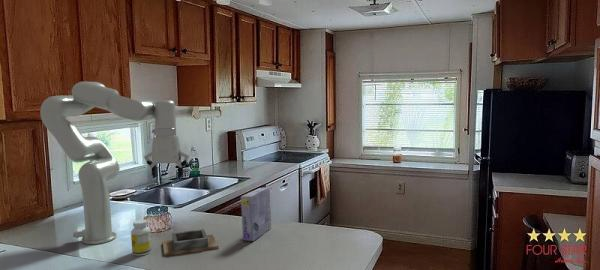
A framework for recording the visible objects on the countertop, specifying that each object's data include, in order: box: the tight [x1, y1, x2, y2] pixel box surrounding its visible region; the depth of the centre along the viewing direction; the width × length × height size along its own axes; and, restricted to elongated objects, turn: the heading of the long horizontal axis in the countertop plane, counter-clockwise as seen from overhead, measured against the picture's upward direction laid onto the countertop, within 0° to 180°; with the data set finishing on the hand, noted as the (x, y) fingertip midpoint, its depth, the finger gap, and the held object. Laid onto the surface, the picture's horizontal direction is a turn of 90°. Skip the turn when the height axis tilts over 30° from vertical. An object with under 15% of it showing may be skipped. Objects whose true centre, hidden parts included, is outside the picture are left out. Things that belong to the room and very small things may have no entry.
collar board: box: [162, 228, 219, 257], centre depth 161 cm, size 19×14×4 cm
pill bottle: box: [130, 219, 152, 257], centre depth 154 cm, size 6×6×12 cm
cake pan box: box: [240, 186, 272, 243], centre depth 172 cm, size 19×5×18 cm, turn 160°
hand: (167, 177), depth 164 cm, fingers open, 9 cm apart
